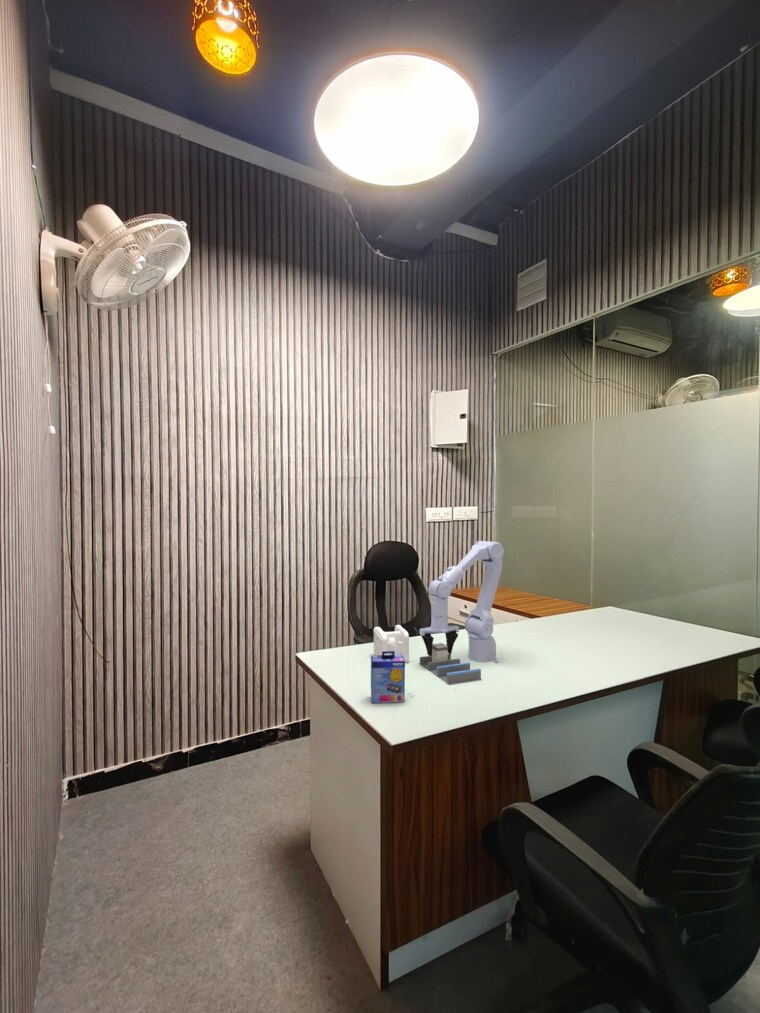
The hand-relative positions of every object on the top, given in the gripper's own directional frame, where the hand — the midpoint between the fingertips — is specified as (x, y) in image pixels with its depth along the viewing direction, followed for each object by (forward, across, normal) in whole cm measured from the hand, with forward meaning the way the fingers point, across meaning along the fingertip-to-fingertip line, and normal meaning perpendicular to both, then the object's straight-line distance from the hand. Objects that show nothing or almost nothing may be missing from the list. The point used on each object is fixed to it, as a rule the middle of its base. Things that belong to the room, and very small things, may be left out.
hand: (439, 654), depth 159 cm
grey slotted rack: (+5, 0, -6) cm, 8 cm away
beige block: (+4, 0, 0) cm, 4 cm away
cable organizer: (+5, -13, +14) cm, 19 cm away
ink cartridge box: (+5, -27, -18) cm, 33 cm away
